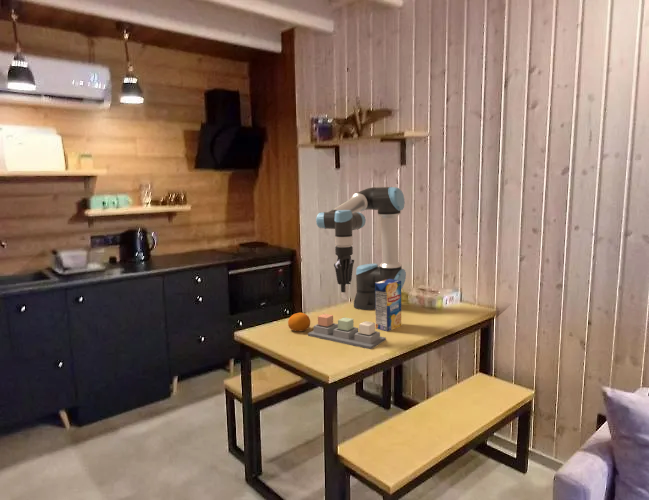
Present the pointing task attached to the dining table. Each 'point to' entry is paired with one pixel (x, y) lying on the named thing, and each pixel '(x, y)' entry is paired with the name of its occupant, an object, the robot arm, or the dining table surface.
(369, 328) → the button ivory
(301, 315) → the fruit
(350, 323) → the button sage
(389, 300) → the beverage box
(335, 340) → the button board
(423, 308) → the dining table surface
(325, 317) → the button terracotta
